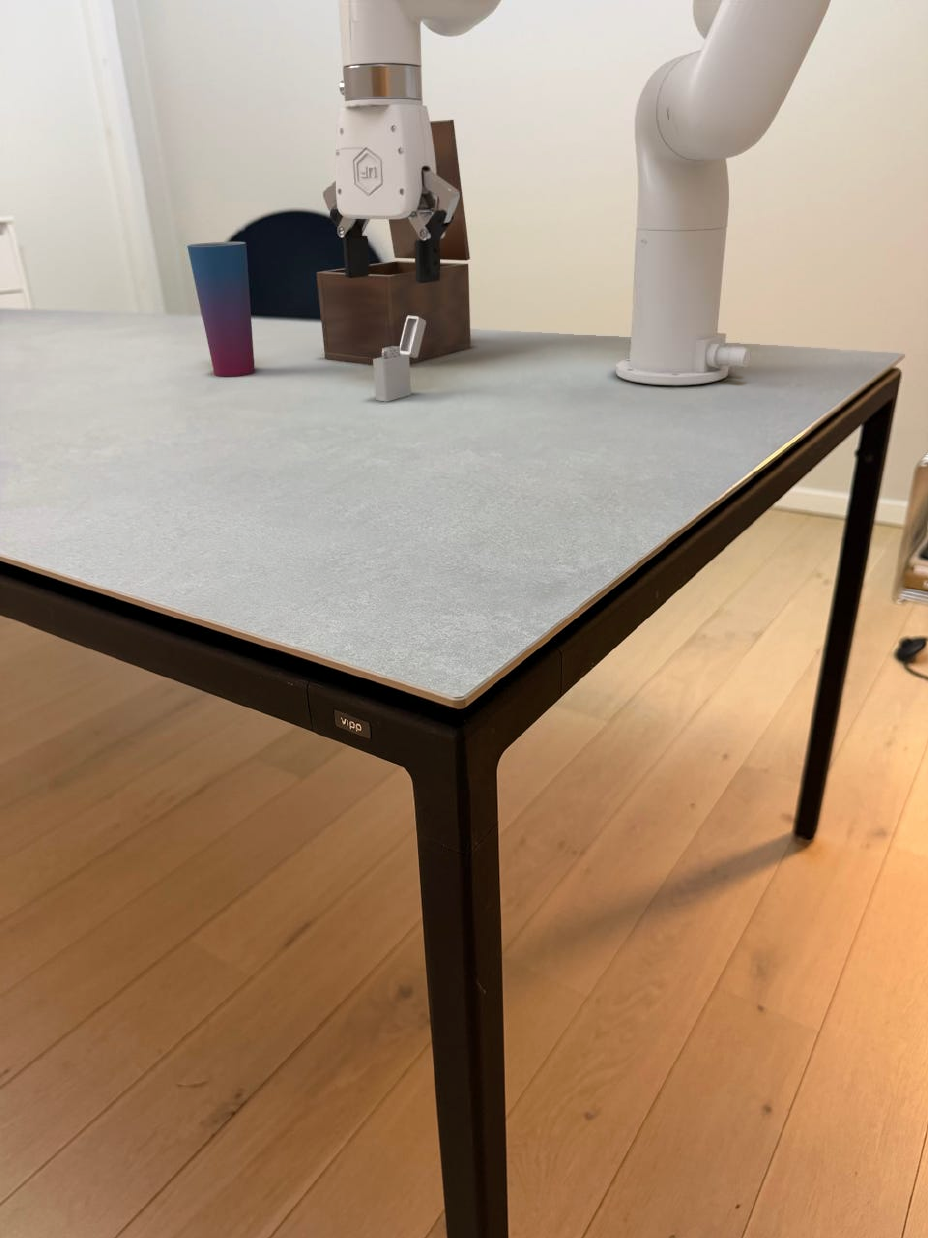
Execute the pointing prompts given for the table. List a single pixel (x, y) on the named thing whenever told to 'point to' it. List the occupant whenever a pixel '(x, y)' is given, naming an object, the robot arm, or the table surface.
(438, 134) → the lid
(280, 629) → the table surface
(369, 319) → the brown wooden box
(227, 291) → the cup
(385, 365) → the lighter
